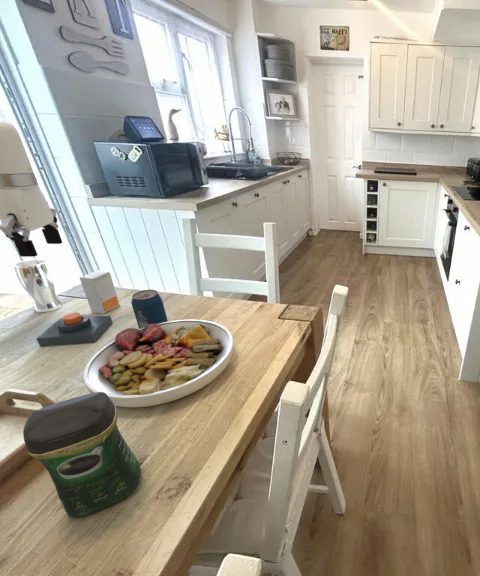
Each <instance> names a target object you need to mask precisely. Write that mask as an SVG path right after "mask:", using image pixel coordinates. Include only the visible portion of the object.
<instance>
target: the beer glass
mask: <svg viewBox="0 0 480 576" xmlns="http://www.w3.org/2000/svg"><path fill="white" fill-rule="evenodd" d="M12 265H13V268H14V269H13V270H14V272H15V276H16V277H17V279H18V282H19V283H20V286H22V288H23V290H24V291H25V292H26V293H27V294H28V296H29V297H30V298H31V300H32V303H33V307H34V311H35V312H36V313H40V312H42V314H43V313H49V311H50V312H54V311H56V310H58V309H61V308H62V306H63V303H62V302H61V300H60V299H59V297H58V296H57V292H56V287H55V281H54V276H53V274H52V271H51V269H50V267H49V265H48V264H47V261H46V260H45V259H42V258H33V259H27V260H26V259H25V260H21V261H18V262H16V263H14V264H12Z"/></svg>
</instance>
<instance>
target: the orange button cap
mask: <svg viewBox="0 0 480 576" xmlns="http://www.w3.org/2000/svg"><path fill="white" fill-rule="evenodd" d="M62 318H63V321H64V323H65V325H71V324H75V323H78V322H81V321H82V317H81V313H80V312H71V313H68V314H65V315H64V316H62Z"/></svg>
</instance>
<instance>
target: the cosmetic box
mask: <svg viewBox="0 0 480 576" xmlns="http://www.w3.org/2000/svg"><path fill="white" fill-rule="evenodd" d="M79 280H80V283H81V286H82V289H83V291H84V294H85V297H86V300H87V303H88V306H89V309H90V311H91V313H94V314H99V315H104V314H107V312H110V311H112V310H113V309H116V308H118V307H120V300H119V297H118V295H117V291H116V288H115V285H114V281H113V278H112V275H111V272H110V271H106V270H101V269H97V270H95V271H92V272H89V273H87V274H85V275H82V276H79Z"/></svg>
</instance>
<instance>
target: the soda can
mask: <svg viewBox="0 0 480 576" xmlns="http://www.w3.org/2000/svg"><path fill="white" fill-rule="evenodd" d="M131 298H132V299H131V302H130V303H131V307H132V310H133V314H134V317H135V320H136V323H137V327H138V329H141V328H144V327H146V326H147V325H148V324H152V323H153V324H159V323H163V322H169V321H168V316H167V313H166V309H165V306H164V302H163V301H164V300H163V298H162V296H161V295H160V294H159V292H158V290H156V289H143V290H140V291H137V292H135V293H134V294H132V296H131Z"/></svg>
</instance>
